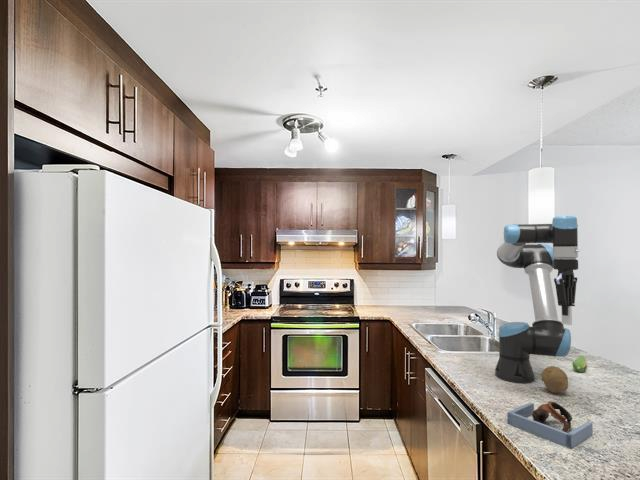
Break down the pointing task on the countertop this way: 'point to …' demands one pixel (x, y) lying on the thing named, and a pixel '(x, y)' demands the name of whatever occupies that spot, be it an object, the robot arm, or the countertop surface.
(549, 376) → the natural sponge
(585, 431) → the blue-grey u-shaped frame
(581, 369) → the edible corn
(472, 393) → the countertop surface
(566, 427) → the brown curved ring piece
